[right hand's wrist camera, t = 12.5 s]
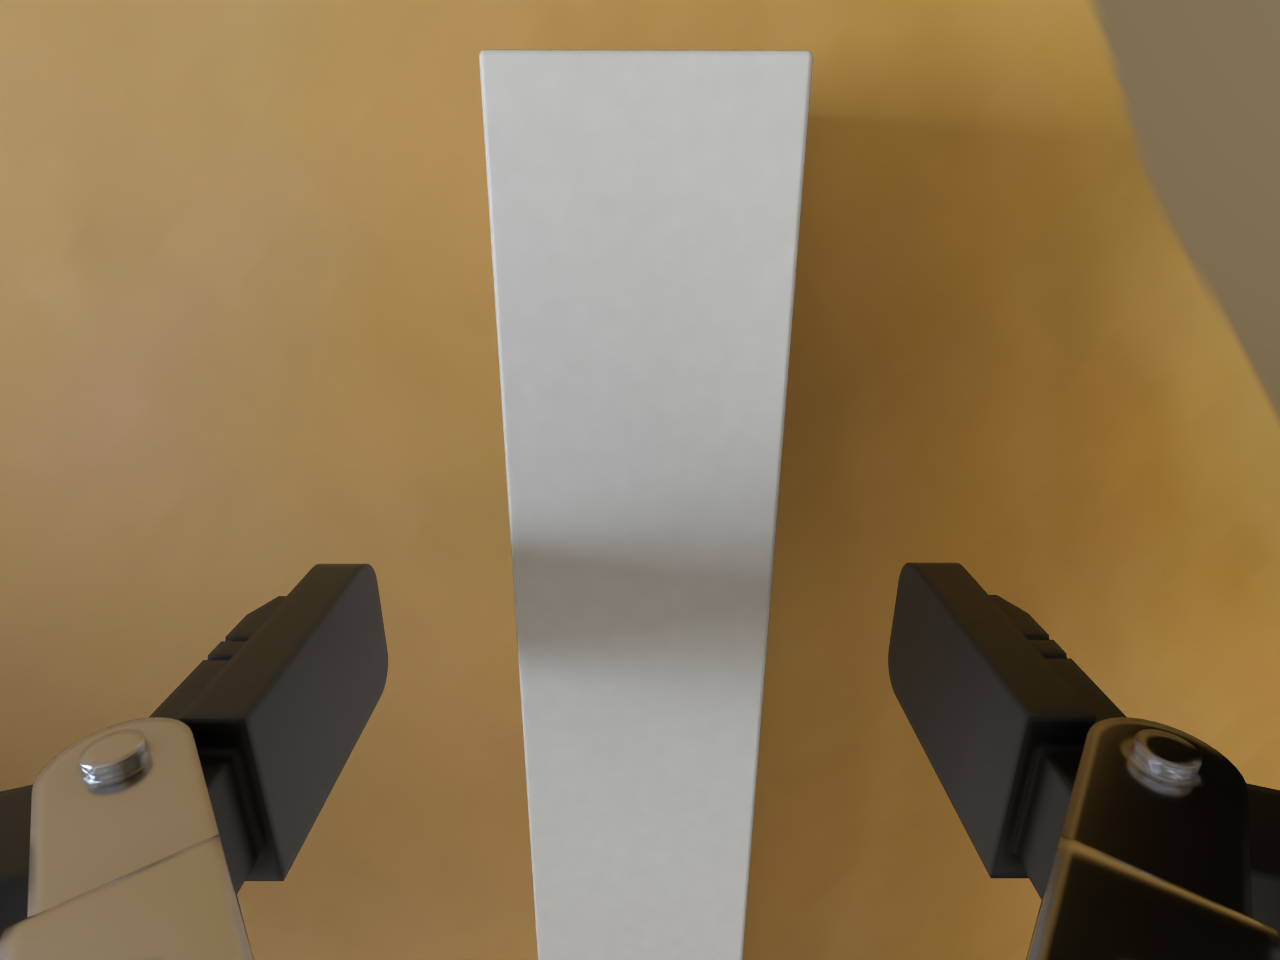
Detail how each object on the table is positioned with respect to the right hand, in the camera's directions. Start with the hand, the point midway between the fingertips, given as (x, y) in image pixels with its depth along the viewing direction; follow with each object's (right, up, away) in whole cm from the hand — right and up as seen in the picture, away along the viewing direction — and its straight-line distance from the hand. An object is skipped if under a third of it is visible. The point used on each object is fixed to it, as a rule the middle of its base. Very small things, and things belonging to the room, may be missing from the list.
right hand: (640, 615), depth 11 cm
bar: (0, -17, +14) cm, 22 cm away
